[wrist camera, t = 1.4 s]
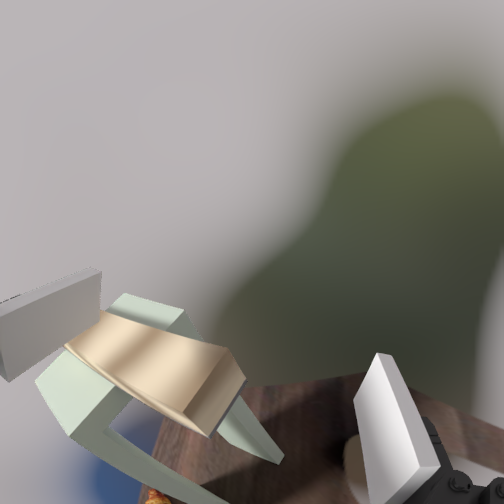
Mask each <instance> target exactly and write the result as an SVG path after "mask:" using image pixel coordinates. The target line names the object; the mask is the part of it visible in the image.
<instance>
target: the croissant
mask: <svg viewBox="0 0 504 504" xmlns="http://www.w3.org/2000/svg"><path fill="white" fill-rule="evenodd" d="M148 494H149V500H147V501H146V503H145V504H171V502H170V500H169V499H168V498H166V497H165V496H164V495H163V494H161V492H160V491H158V490H156V489H151V490H149V492H148Z"/></svg>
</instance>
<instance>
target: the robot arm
mask: <svg viewBox="0 0 504 504" xmlns="http://www.w3.org/2000/svg"><path fill="white" fill-rule="evenodd" d="M101 275H102V272H101V271H99V270H96V269H93V268H87V269H84V270H82V271H79V272H77V273H74V274H71V275H69V276H66V277H64V278H61V279H59V280H56V281H54V282H51V283H49V284H46V285H44V286H41V287H39V288H36V289H34V290H32V291H29V292H27V293H24V294H22V295H18V296H15V297H13V298H11V299H10V300H6V301H4V302H3V303H0V375H1V376H2V377H3V378H4V379H6V381H8V382H11V381H12V380H13V379H15V378H16V377H18V376H19V375H20V374H22V373H23V372H25V371H26V370H28V369H29V368H31V367H32V366H34V365H35V364H37V363H38V362H39V361H41V360H42V359H44V358H45V357H47V356H48V355H50V354H51V353H53V352H54V351H56V350H57V349H58V348H60V347H62V346H63V345H65V344H66V343H68V342H69V341H71V340H72V339H74V338H75V337H77V336H78V335H80V334H81V333H83V332H84V331H86V330H87V329H89V328H90V327H92V326H93V325H95V324H96V323H98V322H99V321H100V292H101ZM353 401H354V406H355V412H356V417H357V422H358V428H359V433H360V439H361V445H362V451H363V457H364V464H365V470H366V477H367V484H368V491H369V500H370V504H504V478H502V477H498V478H495V479H494V480H493V481H492V482H491V483H490V484H489V485H488V486H487V487H483V486H476V485H473V483H472V481H471V479H470V478H469V476H467V475H466V474H465V473H463V472H461V471H458V470H453V468H452V466H451V463H450V461H449V458H448V456H447V453H446V451H445V449H444V446H443V444H441V443H442V442H441V440H440V437H438V433H437V431H436V429H435V426H434V425H433V424H432V423H431V422H430V421H429V420H428V418H427V417H420V415H419V412H418V410H417V408H416V406H415V403H414V401H413V399H412V397H411V395H410V392H409V390H408V388H407V386H406V384H405V382H404V380H403V378H402V376H401V374H400V372H399V370H398V367H397V366H396V363H395V361H394V359H393V357H392V356H391V355H387V354H382V353H376V355H375V358H374V360H373V362H372V364H371V366H370V368H369V370H368V372H367V374H366V376H365V378H364V380H363V382H362V384H361V386H360V388H359V390H358V392H357V394H356V396H355V398H354V399H353Z"/></svg>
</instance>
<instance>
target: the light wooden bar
mask: <svg viewBox="0 0 504 504" xmlns="http://www.w3.org/2000/svg"><path fill="white" fill-rule="evenodd" d="M63 347H64V348H65V349H66V350H68V351H69V352H70V353H71V354H73V355H74V356H75V357H77V358H78V359H79V360H80V361H82V362H83V363H84V364H86V365H87V366H88V367H90V368H91V369H92V370H94V371H95V372H97V373H98V374H99V375H101V376H102V377H104V378H105V379H106V380H108V381H109V382H111V383H112V384H114V385H115V386H117V387H118V388H120V389H121V390H123V391H124V392H126V393H127V394H129V395H131V396H132V397H134V398H135V399H137V400H139V401H140V402H142V403H144V404H145V405H147V406H149V407H150V408H152V409H154V410H155V411H157V412H159V413H161V414H163V415H164V416H166V417H168V418H170V419H172V420H173V421H175V422H177V423H179V424H181V425H183V426H185V427H187V428H189V429H191V430H193V431H195V432H197V433H199V434H201V435H203V436H205V437H207V438H209V439H211V438H212V436H213V435H214V433H215V432H216V430H217V429H218V427H219V426H220V424H221V423H222V421H223V420H224V418H225V417H226V415H227V414H228V412H229V410H230V409H231V407H232V406H233V404H234V403H235V401H236V399H237V398H238V396H239V395H240V393H241V391H242V390H243V388H244V387H245V385H246V383H247V382H248V381H247V379H246V378H245V376H244V374H243V373H242V371H241V369H240V368H239V366H238V365H237V363H236V361H235V359H234V358H233V356H232V354H231V353H230V351H229V349H228V348H225V347H221V346H217V345H213V344H209V343H205V342H201V341H198V340H194V339H190V338H187V337H183V336H180V335H176V334H173V333H169V332H166V331H163V330H159V329H156V328H153V327H150V326H146V325H143V324H140V323H137V322H134V321H131V320H128V319H125V318H122V317H119V316H116V315H114V314H111V313H108V312H105V311H102V310H100V321H99V322H98V323H96V324H95V325H93V326H92V327H90V328H89V329H87V330H86V331H84V332H83V333H81V334H80V335H78V336H77V337H75V338H74V339H72V340H71V341H69V342H68V343H66V344H65V345H63Z"/></svg>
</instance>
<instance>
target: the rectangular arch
mask: <svg viewBox="0 0 504 504" xmlns="http://www.w3.org/2000/svg"><path fill="white" fill-rule="evenodd" d="M105 312H108V313H111V314H114V315H116V316H119V317H122V318H125V319H128V320H131V321H134V322H137V323H140V324H143V325H146V326H150V327H153V328H156V329H159V330H163V331H166V332H169V333H173V334H176V335H180V336H183V337H187V338H190V339H194V340H198V341H201V342H204V341H203V339H202V337H201V336H200V334H199V333H198V331H197V330H196V328H195V326H194V325H193V323H192V321H191V320H190V318H189V316H188V315H187V313H186V311H185V310H183V309H179V308H175V307H172V306H168V305H165V304H161V303H157V302H153V301H150V300H147V299H143V298H140V297H137V296H133V295H130V294H126V293H124V294H123V295H122V296H121V297H119V298H118V299H117V300H116V301H115V302H114V303H113V304H112V305H111V306H110V307H109V308H108V309H107V310H106V311H105ZM35 384H36V385H37V387H38V389H39V391H40V393H41V394H42V396H43V398H44V399H45V401H46V403H47V404H48V406H49V408H50V409H51V411H52V412H53V414H54V415H55V417H56V419H57V420H58V422H59V423H60V425H61V426H62V428H63V429H64V431H65V432H66V433H67V435H68V436H69V437H70V438H71V439H73V440H74V441H76V442H77V443H78V444H80V445H81V446H83V447H84V448H86V449H87V450H88V451H90V452H92V453H93V454H95V455H96V456H98V457H99V458H101V459H102V460H104V461H105V462H107V463H109V464H110V465H112V466H114V467H115V468H117V469H119V470H120V471H122V472H124V473H126V474H127V475H129V476H131V477H133V478H135V479H137V480H138V481H140V482H142V483H144V484H146V485H148V486H150V487H152V488H154V489H156V490H158V491H160V492H163V493H165V494H167V495H169V496H171V497H174V498H176V499H178V500H181V501H183V502H185V503H188V504H230V503H228V502H226V501H224V500H223V499H221V498H219V497H217V496H216V495H214V494H212V493H211V492H209V491H207V490H206V489H204V488H203V487H201V486H199V485H198V484H196V483H194V482H192V481H190V480H188V479H187V478H185V477H183V476H181V475H180V474H178V473H176V472H174V471H173V470H171V469H169V468H168V467H166V466H165V465H163V464H161V463H160V462H158V461H157V460H155V459H154V458H152V457H151V456H149V455H148V454H146V453H145V452H143V451H142V450H140V449H139V448H137V447H136V446H135V445H133V444H132V443H130V442H129V441H128V440H126V439H125V438H124V437H122V436H121V435H119V434H118V433H117V432H116V431H114V430H113V429H112V428H111V427H109V426H108V425H109V424H110V423H111V422H112V421H113V420H114V419H115V418H116V416H117V415H118V414H119V413H120V412H121V411H122V410H123V408H124V407H125V406H126V405H127V404H128V403H129V402H130V401H131V400H132V398H133V397H132V396H131V395H129V394H127V393H126V392H124V391H123V390H121V389H120V388H118V387H117V386H115V385H114V384H112V383H111V382H109V381H108V380H106V379H105V378H104V377H102V376H101V375H99V374H98V373H97V372H95V371H94V370H92V369H91V368H90V367H88V366H87V365H86V364H84V363H83V362H82V361H80V360H79V359H78V358H77V357H75V356H74V355H73V354H71V353H70V352H69V351H68V350H64V352H62V353H61V354H60V355H59V356H58V358H57V359H56V360H55V361H54V362H53V363H52V364H51V365H50V366H49V367H48V368H47V369H46V370H45V371H44V372H43V373H42V374H41V375H40V376H39V377H38V378H37V379H36V380H35ZM217 431H218V432H219V433H220V434H221V435H222V436H223V437H224V438H225V439H226V440H227V441H228V442H229V443H230V444H232V445H234V446H236V447H238V448H241V449H243V450H245V451H247V452H249V453H252V454H254V455H256V456H258V457H261V458H263V459H265V460H268V461H270V462H273V463H275V464H278V465H279V463H280V462H281V460H282V459H283V457H284V454H283V453H282V451H281V450H280V449H279V447H278V446H277V445H276V444H275V442H274V441H273V440H272V438H271V437H270V436H269V435H268V433H267V432H266V431H265V429H264V428H263V427H262V425H261V424H260V423H259V421H258V420H257V419H256V417H255V416H254V414H253V413H252V412H251V410H250V409H249V408H248V406H247V405H246V403H245V402H244V401H243V399H242V398H241V396H240V395H239V396H238V398H237V399H236V401H235V403H234V404H233V406H232V407H231V409H230V410H229V412H228V414H227V415H226V417H225V418H224V420H223V421H222V423H221V424H220V426H219V427H218V429H217Z"/></svg>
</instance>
